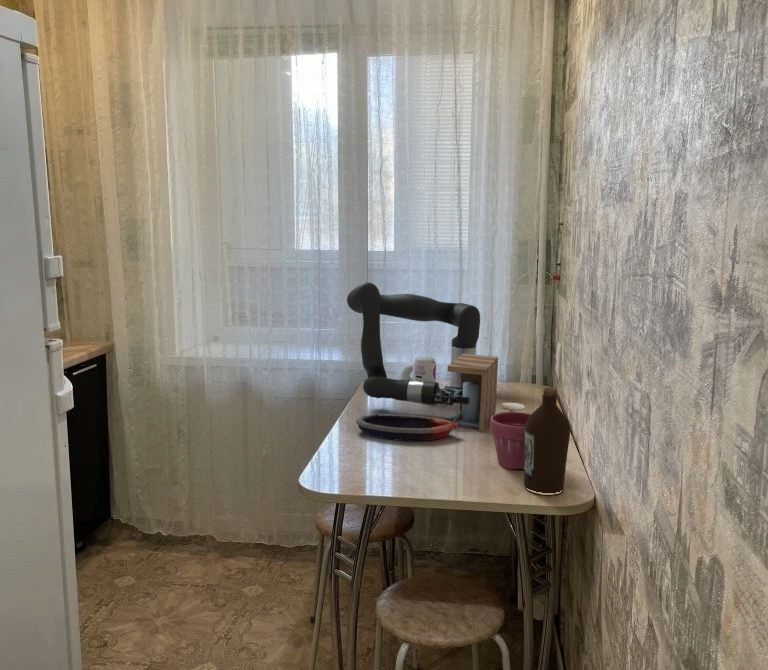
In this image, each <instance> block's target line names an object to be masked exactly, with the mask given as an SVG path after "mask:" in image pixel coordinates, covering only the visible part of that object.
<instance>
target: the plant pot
mask: <svg viewBox="0 0 768 670" xmlns="http://www.w3.org/2000/svg"><path fill="white" fill-rule="evenodd" d="M531 414H532V413H527V412H521V411H514V412H510V411H505V412H497V413H495V415H493V416H492V417H491V420H490V423H489V430H490V433H491V434H492V435H493V440H494V441H493V442H494V446H495V447H494V448H495V452H496V457H497V462H498V465H499V466H500V467H501V466H502V467H501V468H504V467H505V468H504V469H507V468H509V469H508V470H511V469H524V468H525V425H526V422H527V419H528V417H529V416H530V415H531Z"/></svg>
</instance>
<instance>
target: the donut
mask: <svg viewBox="0 0 768 670" xmlns="http://www.w3.org/2000/svg"><path fill="white" fill-rule="evenodd" d="M411 373H413V362H410V363H407V364H406V365H405V366H404V367H403V368H402V370H401V373H400V378H401V380H411V381H413V378H412V377H411V376H410V374H411Z"/></svg>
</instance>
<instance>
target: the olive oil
mask: <svg viewBox="0 0 768 670" xmlns="http://www.w3.org/2000/svg"><path fill="white" fill-rule="evenodd" d="M542 392H543V394H542V403H541V405H540V406H538V407H537V408H536V409H534V411H533V412H532V413H530V414H531V415H530V416H529V417H528V419H527V422H526V425H525V470H524V476H523V477H524V478H523V479H524V480H523V481H524V483H523V486H524V485H525V487H526V488H528V489H530V490H533V491H536V492H542V493H556V492H560V491H561V490H563V491H564V489H565V488H564V486H565V479H566V478H565V476H566V470H567V469H566V468H567V467H566V466H567V461H568V460H567V459H568V452H569V444H570V437H571V425H570V422H569V419H568V418H567V416H566V415H565V414H564V413H563V412H562V411H561V409H560V408H559V407H558V405H557V401H558V395H557V394H558V390H557V389H555V388H550V387H546V388H543V391H542ZM525 487H524V488H525Z"/></svg>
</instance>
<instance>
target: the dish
mask: <svg viewBox="0 0 768 670" xmlns="http://www.w3.org/2000/svg"><path fill="white" fill-rule="evenodd" d="M355 422H356V424H357V426H358V429H359V430H360V431H361V432H362V433H364V434H365V435H368V436H369V435H370V436H372V435H373V437H376V436H377V438H380V437H382V439H386V438H388V439H387V440H393V439H398V440H397V441H407V440H413V441H414V442H415V441H416V442H418V441H419V442H422V441H423V442H425V441H426V440H427V441H432V440H433V441H434V440H438V439H442V438H443V439H444V438H446V437H447V436H448V435H449V434H450V433H452V432H453V430H454V429H455V430H457V429H458V424H457V423H454V422H452V421H450V420H448V419H443V418H442V419H441V418H438V417H431V416H424V415H412V414H389V413H388V414H385V413H383V414H381V413H379V412H374V413H373V414H368V415H364V416H363V415H362V416H359V417H358V418H357V419H356V421H355ZM413 441H412V442H413Z"/></svg>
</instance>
